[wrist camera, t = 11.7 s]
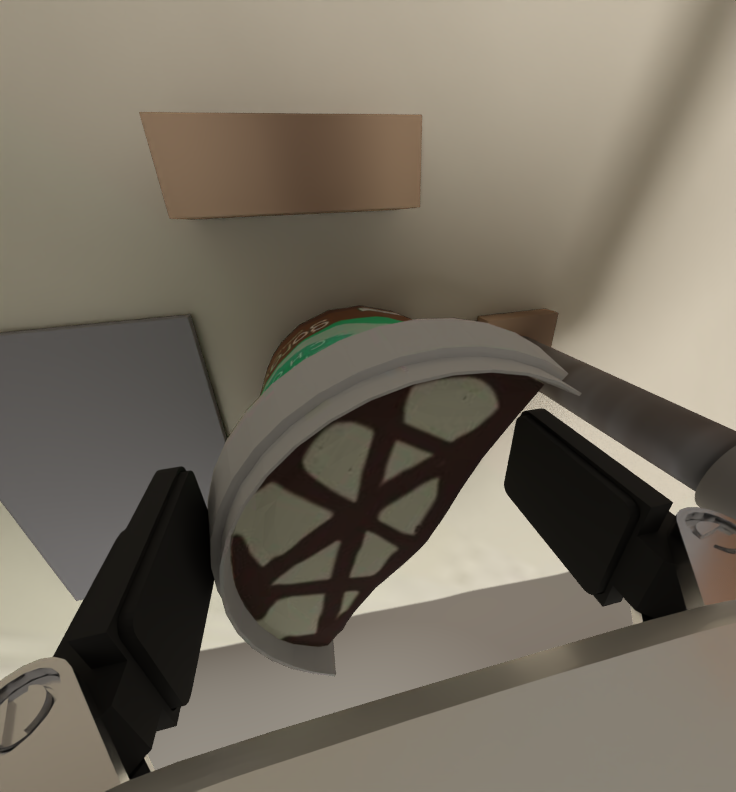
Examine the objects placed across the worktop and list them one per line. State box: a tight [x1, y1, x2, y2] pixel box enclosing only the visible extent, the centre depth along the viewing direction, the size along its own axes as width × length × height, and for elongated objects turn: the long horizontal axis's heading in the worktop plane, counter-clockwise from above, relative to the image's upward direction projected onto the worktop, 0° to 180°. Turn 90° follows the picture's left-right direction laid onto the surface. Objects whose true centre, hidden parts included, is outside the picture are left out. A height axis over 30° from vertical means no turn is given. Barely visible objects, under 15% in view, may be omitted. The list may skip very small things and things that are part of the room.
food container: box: [208, 306, 582, 676], centre depth 12 cm, size 12×6×10 cm, turn 147°
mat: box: [0, 315, 227, 601], centre depth 16 cm, size 10×15×1 cm, turn 2°
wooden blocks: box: [139, 112, 736, 491], centre depth 13 cm, size 16×19×10 cm
